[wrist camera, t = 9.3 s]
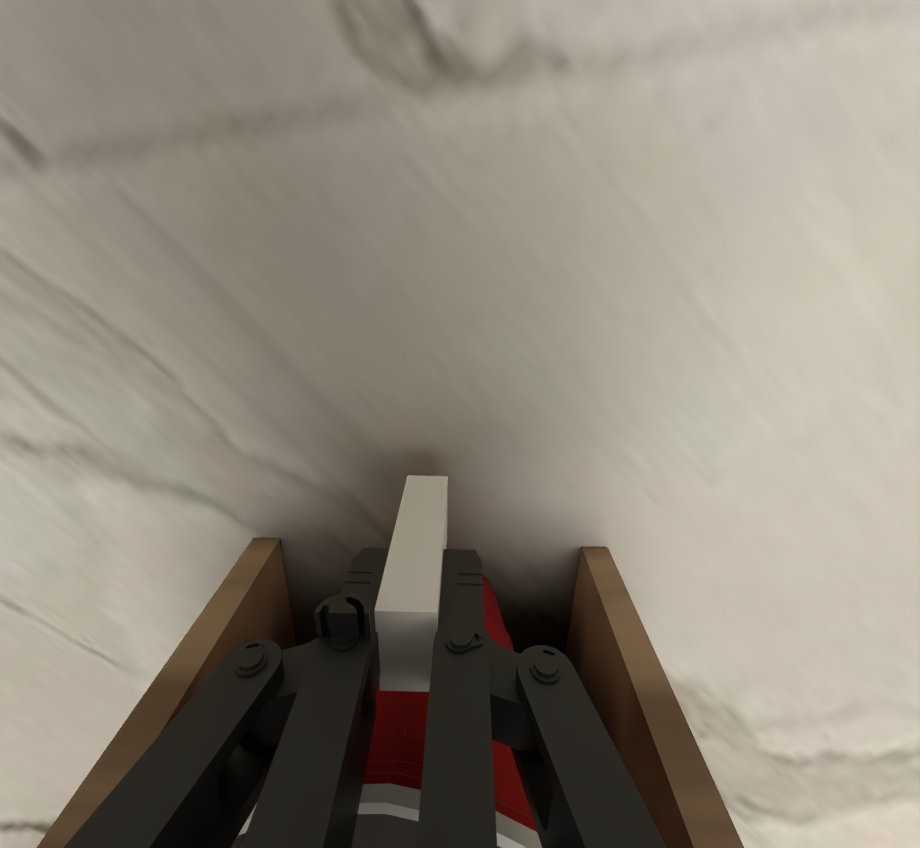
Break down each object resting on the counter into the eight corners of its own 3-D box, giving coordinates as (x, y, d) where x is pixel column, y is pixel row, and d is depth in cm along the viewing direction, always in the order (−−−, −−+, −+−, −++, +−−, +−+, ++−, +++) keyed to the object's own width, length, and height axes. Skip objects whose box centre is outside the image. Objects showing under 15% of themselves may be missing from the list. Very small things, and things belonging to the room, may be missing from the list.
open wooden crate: (253, 537, 21) (-215, 1207, 7) (607, 547, 21) (922, 1241, 7) (285, 713, 26) (51, 1335, 11) (576, 722, 26) (719, 1356, 11)
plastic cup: (307, 503, 20) (116, 822, 9) (549, 505, 20) (650, 831, 9) (333, 676, 24) (222, 1040, 13) (534, 679, 24) (591, 1049, 13)
